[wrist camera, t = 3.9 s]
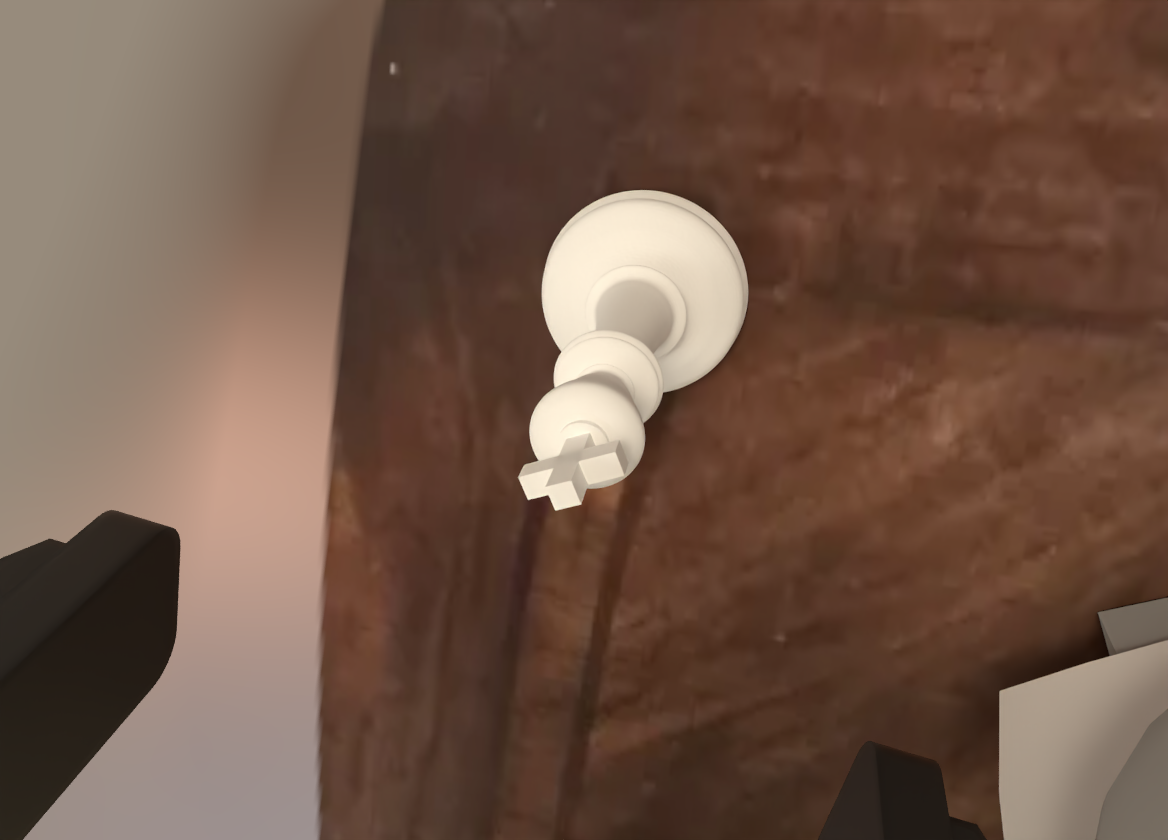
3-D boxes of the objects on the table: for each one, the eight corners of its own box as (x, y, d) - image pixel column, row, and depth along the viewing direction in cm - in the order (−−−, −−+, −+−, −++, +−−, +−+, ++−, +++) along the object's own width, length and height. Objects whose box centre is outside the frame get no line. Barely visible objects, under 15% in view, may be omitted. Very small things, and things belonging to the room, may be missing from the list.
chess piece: (513, 227, 25) (358, 396, 16) (710, 159, 23) (662, 304, 14) (585, 407, 26) (482, 652, 17) (774, 356, 25) (766, 593, 16)
